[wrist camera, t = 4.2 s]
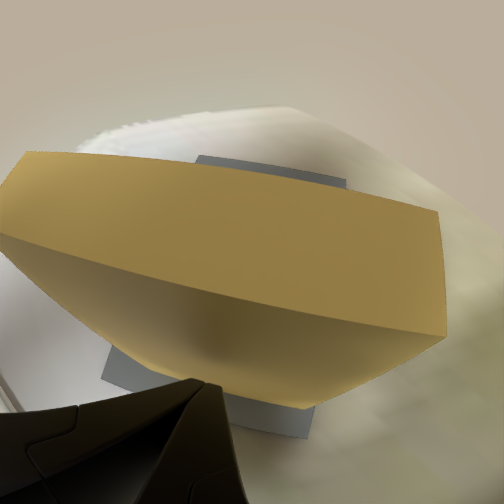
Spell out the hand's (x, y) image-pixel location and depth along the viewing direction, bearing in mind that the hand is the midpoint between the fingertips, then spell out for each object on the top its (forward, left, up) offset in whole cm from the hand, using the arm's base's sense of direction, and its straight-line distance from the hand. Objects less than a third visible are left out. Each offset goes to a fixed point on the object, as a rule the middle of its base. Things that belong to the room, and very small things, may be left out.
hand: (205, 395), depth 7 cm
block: (+2, 0, -8) cm, 8 cm away
